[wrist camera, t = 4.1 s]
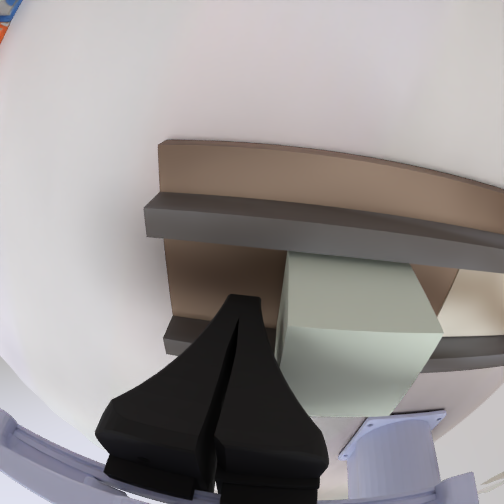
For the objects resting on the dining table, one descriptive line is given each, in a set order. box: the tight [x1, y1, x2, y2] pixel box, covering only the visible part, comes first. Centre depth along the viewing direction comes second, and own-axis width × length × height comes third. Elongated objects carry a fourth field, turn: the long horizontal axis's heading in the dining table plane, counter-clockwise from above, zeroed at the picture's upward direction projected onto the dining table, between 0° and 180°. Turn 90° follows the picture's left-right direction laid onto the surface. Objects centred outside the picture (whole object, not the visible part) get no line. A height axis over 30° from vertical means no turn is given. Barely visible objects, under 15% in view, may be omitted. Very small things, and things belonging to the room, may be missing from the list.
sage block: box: [275, 251, 444, 417], centre depth 12 cm, size 5×5×5 cm
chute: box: [144, 140, 504, 373], centre depth 13 cm, size 12×22×4 cm, turn 87°
